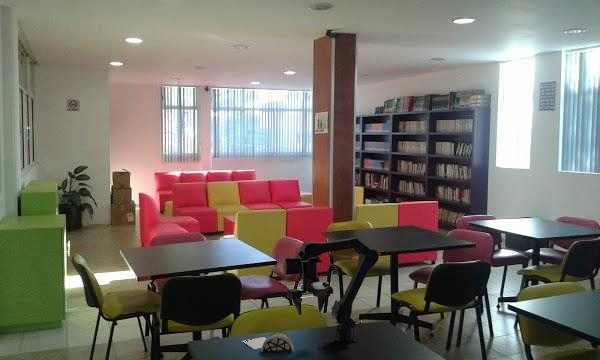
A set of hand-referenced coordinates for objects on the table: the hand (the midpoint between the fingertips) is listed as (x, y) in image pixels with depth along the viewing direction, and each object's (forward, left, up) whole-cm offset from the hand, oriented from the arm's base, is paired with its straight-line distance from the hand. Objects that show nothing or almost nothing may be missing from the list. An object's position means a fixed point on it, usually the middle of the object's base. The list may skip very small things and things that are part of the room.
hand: (310, 313), depth 212 cm
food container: (+11, -6, -8) cm, 15 cm away
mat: (+17, -11, -12) cm, 24 cm away
